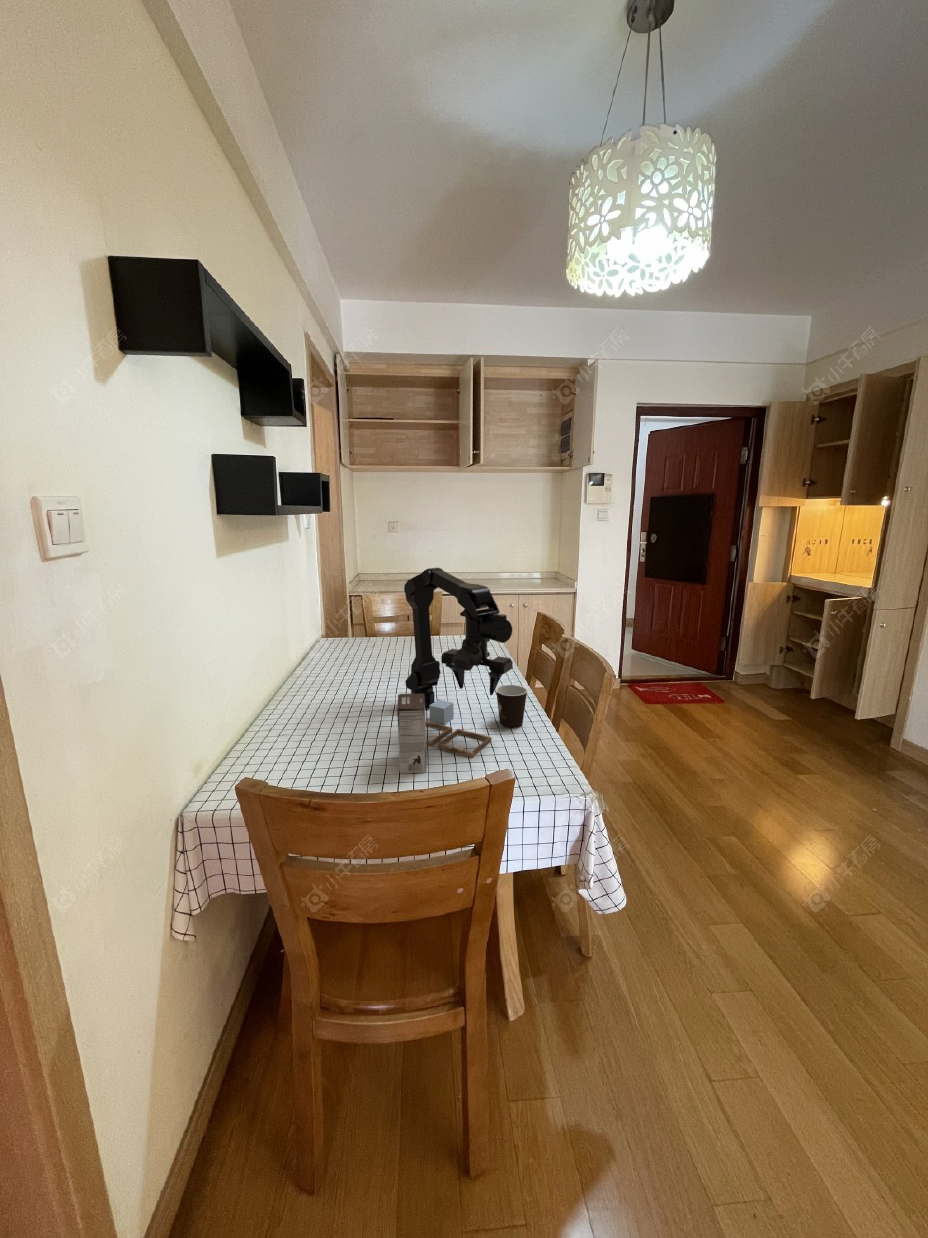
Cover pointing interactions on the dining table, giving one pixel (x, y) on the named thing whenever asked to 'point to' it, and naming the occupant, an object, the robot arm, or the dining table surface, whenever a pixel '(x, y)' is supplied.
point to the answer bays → (448, 730)
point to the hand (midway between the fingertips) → (476, 691)
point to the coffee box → (412, 733)
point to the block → (441, 712)
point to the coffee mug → (511, 705)
